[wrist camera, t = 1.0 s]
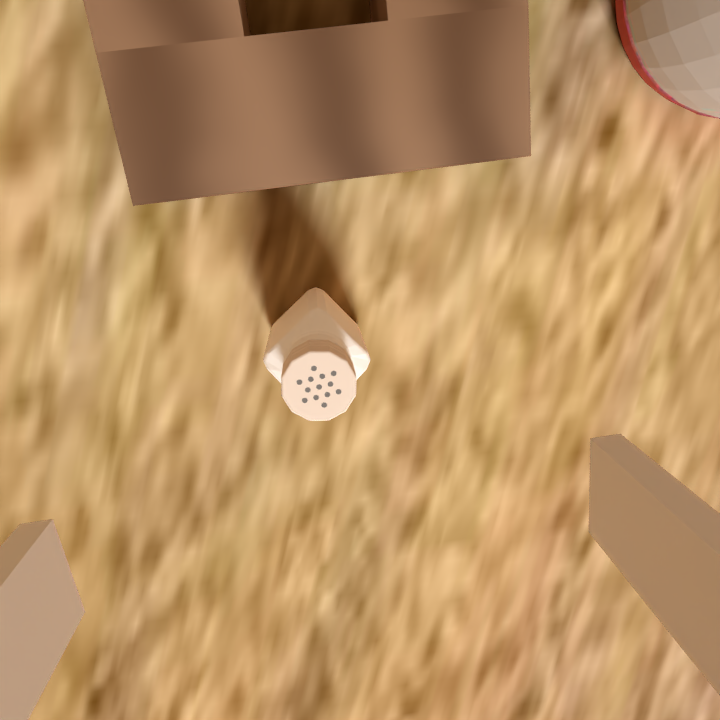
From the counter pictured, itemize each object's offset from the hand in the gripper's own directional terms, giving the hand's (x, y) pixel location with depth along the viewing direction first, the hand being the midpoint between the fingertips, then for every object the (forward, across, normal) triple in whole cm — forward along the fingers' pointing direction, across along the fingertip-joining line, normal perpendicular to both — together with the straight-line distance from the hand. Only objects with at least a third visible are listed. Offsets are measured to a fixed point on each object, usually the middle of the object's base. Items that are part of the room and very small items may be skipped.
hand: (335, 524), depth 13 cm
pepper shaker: (+19, 0, 0) cm, 19 cm away
